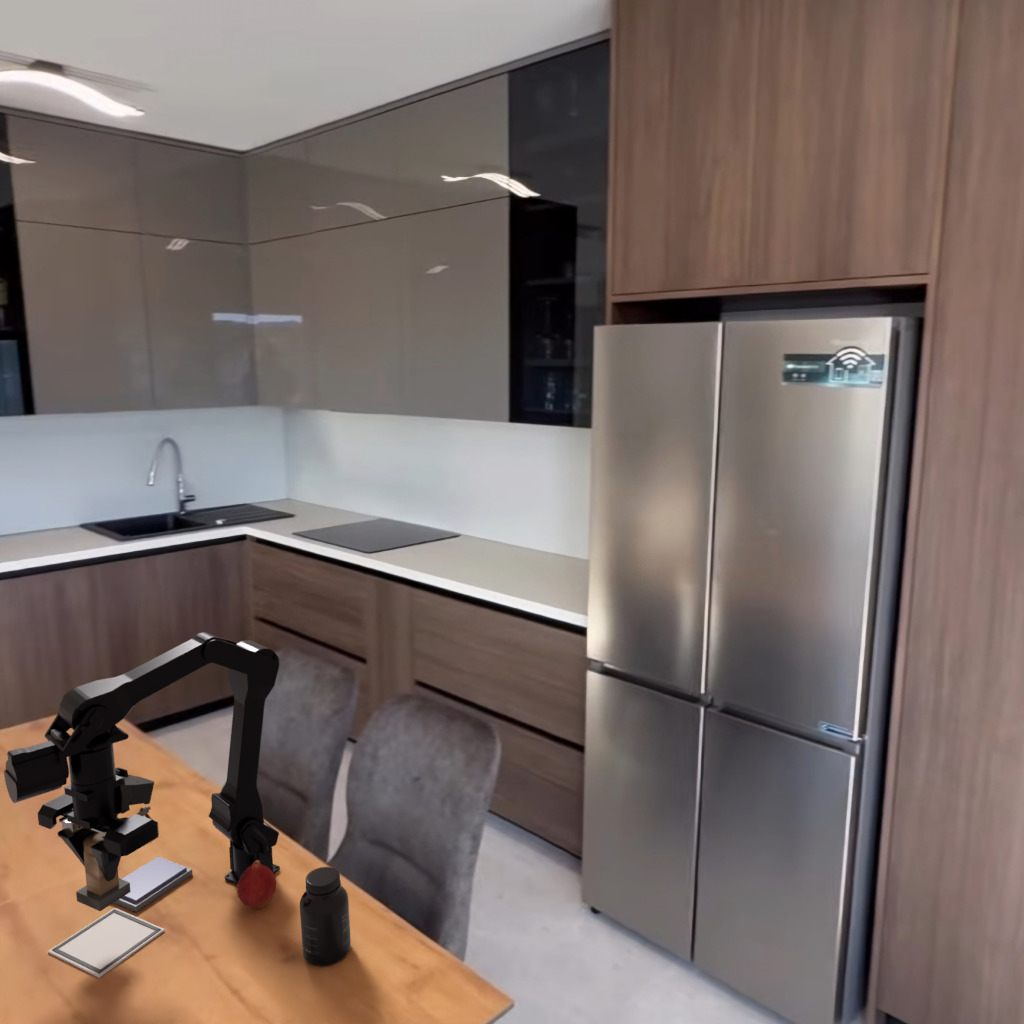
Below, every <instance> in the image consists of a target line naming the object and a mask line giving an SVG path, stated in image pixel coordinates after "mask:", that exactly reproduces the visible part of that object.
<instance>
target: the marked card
mask: <svg viewBox="0 0 1024 1024" xmlns="http://www.w3.org/2000/svg"><path fill="white" fill-rule="evenodd" d="M165 931H166V929H165V928H163V927H160V926H158V925H156V924H154V923H152V922H149V921H147V920H145V919H142V918H140V917H137V916H136V915H132V914H131V913H129V912H126V911H124V910H121V909H119V908H116V907H114V908H113V909H111V910H109V911H108V912H106V913H105V914H103V915H101V916H100V917H98V918H97V919H95V920H93V921H92V922H91V923H89V924H87V925H86V926H85V927H82V928H81V929H80V930H78V931H77V932H75V933H73V934H72V935H70V936H69V937H68V938H66V939H64V940H63V941H61V942H60V943H59V944H56V945H55V946H53V947H52V948H50V949H49V950H47V952H48V953H47V954H50V955H52V956H54V957H56V958H58V959H60V960H62V961H64V962H65V963H68V964H70V965H72V966H74V967H76V968H78V969H79V970H82V971H85V972H86V973H89V974H90V975H92V976H95V977H96V978H99V979H100V978H101V977H102V976H104V975H105V974H106V973H108V972H109V971H110V970H112V969H114V968H115V967H116V966H118V965H120V964H121V963H123V962H124V961H125V960H126V959H128V958H129V957H131V956H132V955H133V954H135V953H136V952H137V951H139V950H141V949H142V948H143V947H144V946H146V945H147V944H149V943H150V942H151V941H153V940H154V939H155V938H157V937H158V936H160V935H161V934H163V933H164V932H165ZM110 972H111V971H110Z"/></svg>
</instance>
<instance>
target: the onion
mask: <svg viewBox="0 0 1024 1024" xmlns="http://www.w3.org/2000/svg"><path fill="white" fill-rule="evenodd" d="M276 891H277V878H276V875H275V874H274V873H273V872H272V871H271V870H270V869H269V868H268V867H267V866H265V865H262V864H260V861H259V860H256V861H255V862H254V863H253V864H252V865H251V866H249V867H248V868H247V869H246V870H245V871H244V872H243V874H242V875H241V877H240V878H239V881H238V884H237V891H236V892H237V893H236V894H237V897H238V899H239V900H240V901H241V902H242V904H244V905H245V906H246V907H250V908H253V909H257V910H260V909H262V908H263V907H264V906H265V905H266V904H267V903H270V902H269V901H271V900H272V899H273V897H274V895H275V893H276Z"/></svg>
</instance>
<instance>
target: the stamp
mask: <svg viewBox="0 0 1024 1024" xmlns="http://www.w3.org/2000/svg"><path fill="white" fill-rule="evenodd" d="M103 836H104V834H101V833H94V834H92V835H90V836H88V837H87V838H86V839H85V840H84V841H83V845H84V863H85V867H84V873H85V882H86V883H85V884H86V885H85V886H83V887H81V888H80V889H78V890H77V891H75V895H76V901H77V902H78V903H80V904H83V905H85V906H87V907H89V908H92V909H93V910H95V911H99V912H101V911H103V910H105V909H106V908H108V907H109V906H111V905H112V904H115V903H114V902H116V901H117V900H119V899H120V898H122V897H123V896H125V895H126V894H128V893H130V882H127V881H125V880H122V878H120V876H119V868H118V869H117V872H116V875H115V878H114V879H112V880H111V881H107V880H106V879H105V877H104V875H103V873H102V871H101V869H100V867H99V865H98V862H97V860H96V858H95V856H94V854H93V852H92V850H91V846H93V845H95V844H96V843H98V842H100V841H102V837H103Z"/></svg>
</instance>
